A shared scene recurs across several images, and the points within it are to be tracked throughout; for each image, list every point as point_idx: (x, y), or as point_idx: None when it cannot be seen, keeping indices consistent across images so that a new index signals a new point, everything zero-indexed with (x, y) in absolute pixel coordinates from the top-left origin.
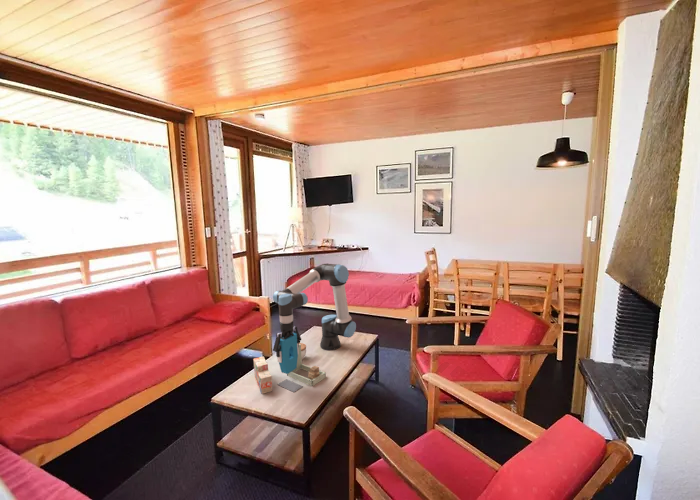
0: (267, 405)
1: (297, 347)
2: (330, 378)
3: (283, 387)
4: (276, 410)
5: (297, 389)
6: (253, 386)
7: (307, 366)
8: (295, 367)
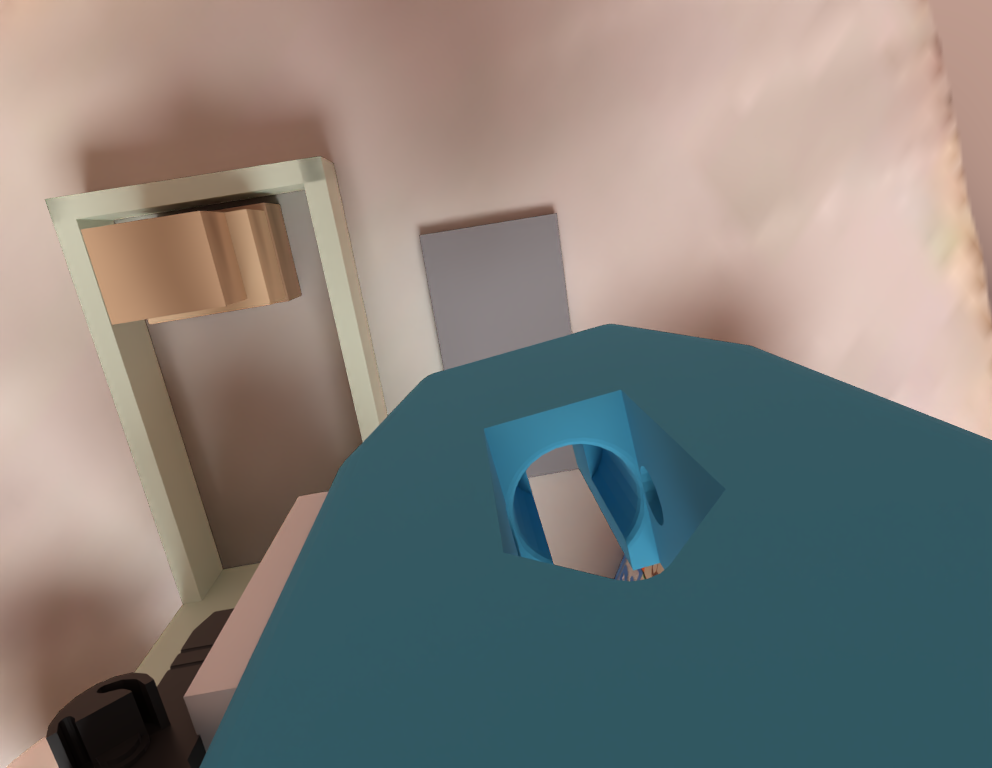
0: (861, 218)
1: (278, 589)
2: (51, 132)
3: None
4: (864, 69)
5: (502, 223)
6: None
7: (162, 502)
8: (446, 374)
